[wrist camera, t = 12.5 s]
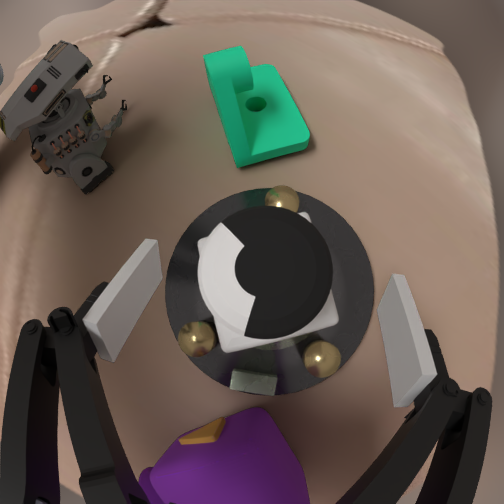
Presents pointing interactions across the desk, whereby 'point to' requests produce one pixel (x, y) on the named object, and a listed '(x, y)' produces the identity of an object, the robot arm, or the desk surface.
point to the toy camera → (228, 465)
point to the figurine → (61, 118)
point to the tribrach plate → (284, 351)
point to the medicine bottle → (266, 277)
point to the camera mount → (254, 108)
